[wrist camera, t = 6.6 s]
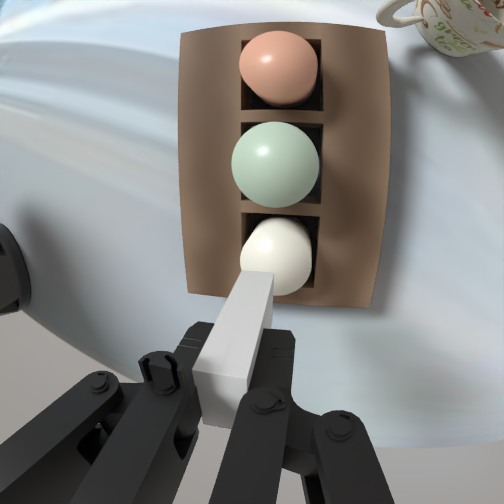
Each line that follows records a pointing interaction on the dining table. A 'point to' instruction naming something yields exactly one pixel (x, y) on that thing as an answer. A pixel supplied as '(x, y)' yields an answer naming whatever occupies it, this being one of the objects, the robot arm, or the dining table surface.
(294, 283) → the button cream
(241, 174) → the button sage
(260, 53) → the button terracotta
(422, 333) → the dining table surface
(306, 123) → the button panel
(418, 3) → the mug
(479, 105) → the dining table surface
